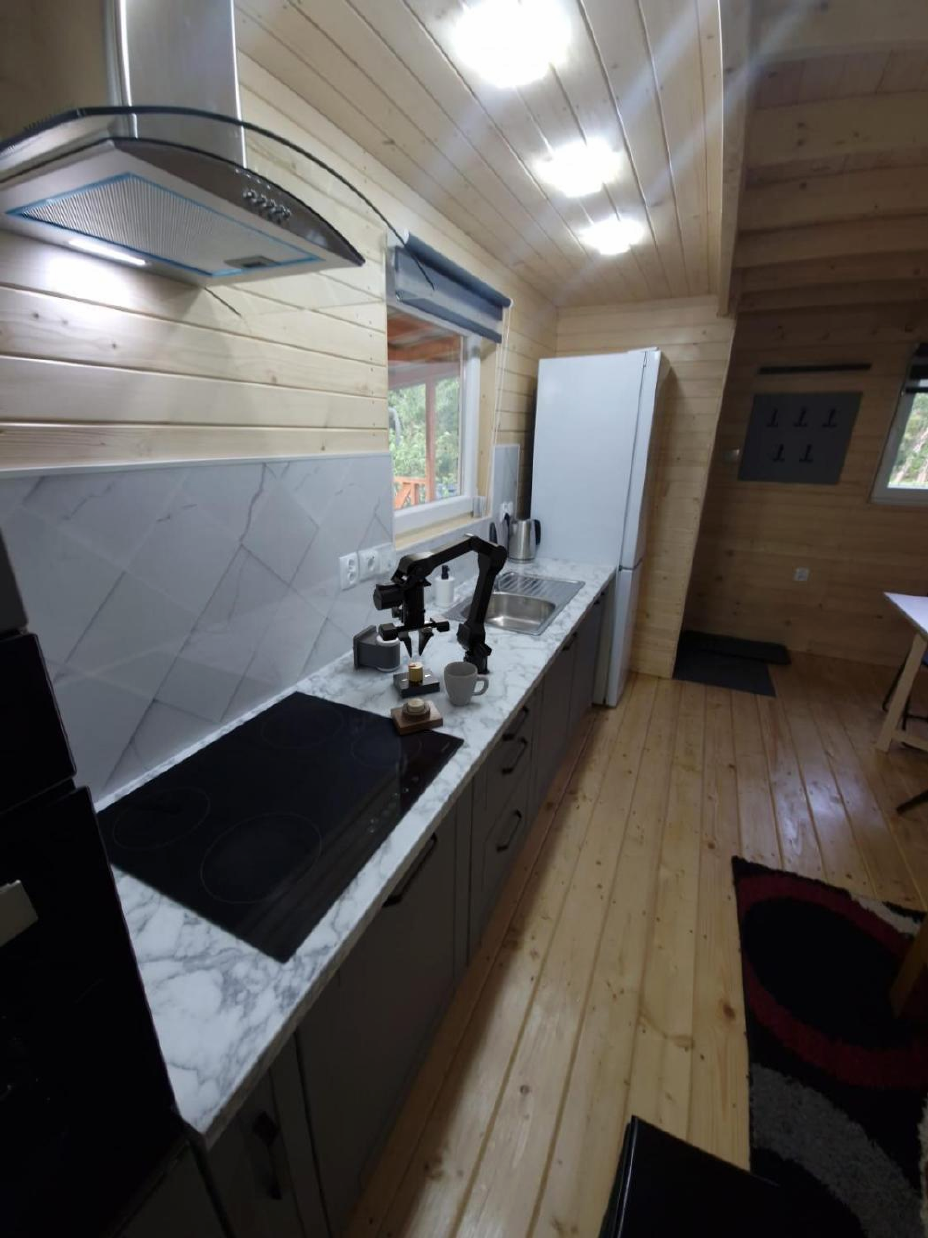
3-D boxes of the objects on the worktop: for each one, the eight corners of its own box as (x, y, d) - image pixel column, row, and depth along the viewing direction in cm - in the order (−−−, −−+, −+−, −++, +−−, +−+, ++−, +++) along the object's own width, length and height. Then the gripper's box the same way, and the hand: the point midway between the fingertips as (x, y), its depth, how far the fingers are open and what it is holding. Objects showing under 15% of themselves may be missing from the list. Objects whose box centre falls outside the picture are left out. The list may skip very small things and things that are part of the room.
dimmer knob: (420, 673, 142) (420, 660, 140) (424, 680, 139) (424, 666, 137) (407, 676, 141) (406, 662, 139) (411, 682, 137) (410, 668, 136)
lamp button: (421, 703, 126) (421, 697, 126) (426, 711, 123) (426, 705, 122) (406, 706, 125) (406, 700, 124) (410, 714, 122) (410, 708, 121)
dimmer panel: (429, 676, 147) (429, 667, 145) (439, 691, 139) (439, 681, 138) (393, 683, 143) (392, 674, 141) (401, 699, 135) (401, 688, 134)
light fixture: (388, 679, 146) (388, 646, 142) (351, 668, 151) (350, 636, 147) (407, 663, 156) (407, 632, 151) (371, 653, 160) (370, 623, 156)
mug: (441, 707, 131) (441, 675, 127) (447, 690, 139) (446, 660, 136) (486, 711, 130) (487, 678, 126) (489, 694, 138) (490, 663, 134)
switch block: (431, 707, 131) (431, 694, 130) (443, 725, 124) (443, 711, 122) (390, 716, 127) (390, 702, 126) (400, 735, 120) (399, 721, 118)
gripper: (436, 590, 141) (436, 639, 147) (371, 598, 135) (375, 650, 140) (450, 602, 132) (450, 655, 138) (381, 612, 125) (385, 667, 131)
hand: (415, 656), depth 137 cm, fingers closed
